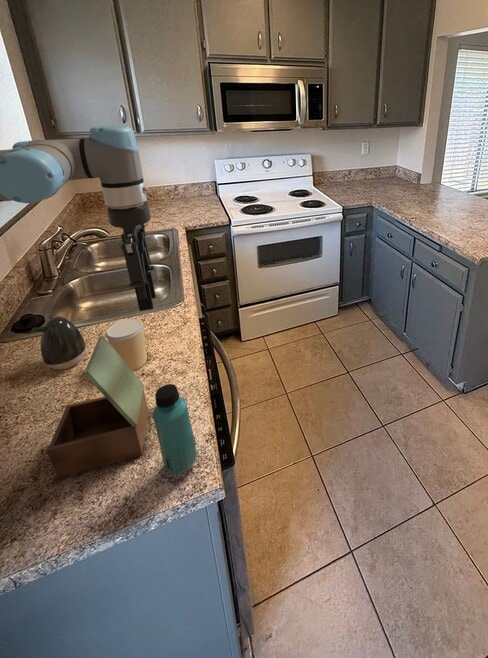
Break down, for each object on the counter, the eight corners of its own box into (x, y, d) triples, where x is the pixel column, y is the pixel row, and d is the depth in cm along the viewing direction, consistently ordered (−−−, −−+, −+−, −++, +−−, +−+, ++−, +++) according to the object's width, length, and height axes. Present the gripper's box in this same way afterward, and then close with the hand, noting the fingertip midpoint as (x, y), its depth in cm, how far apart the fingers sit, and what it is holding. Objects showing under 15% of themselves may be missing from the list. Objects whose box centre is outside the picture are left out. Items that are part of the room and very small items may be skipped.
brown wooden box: (57, 478, 72) (46, 450, 69) (75, 431, 82) (66, 405, 80) (142, 455, 77) (135, 428, 74) (149, 412, 87) (143, 387, 84)
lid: (83, 373, 67) (87, 371, 67) (99, 336, 77) (102, 335, 77) (133, 427, 74) (136, 425, 74) (141, 387, 84) (144, 385, 84)
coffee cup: (152, 348, 109) (145, 315, 105) (147, 369, 101) (139, 333, 97) (118, 355, 107) (109, 321, 103) (110, 377, 98) (101, 340, 94)
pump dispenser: (43, 362, 104) (28, 318, 99) (84, 346, 111) (72, 304, 106) (48, 381, 97) (32, 334, 92) (92, 363, 104) (79, 318, 99)
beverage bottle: (204, 453, 77) (191, 380, 70) (186, 484, 71) (170, 407, 64) (177, 447, 78) (162, 374, 71) (157, 477, 72) (139, 400, 65)
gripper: (141, 214, 66) (162, 321, 74) (152, 192, 81) (168, 283, 89) (95, 218, 64) (122, 328, 72) (115, 195, 79) (135, 288, 87)
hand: (148, 303), depth 81 cm, fingers open, 4 cm apart
